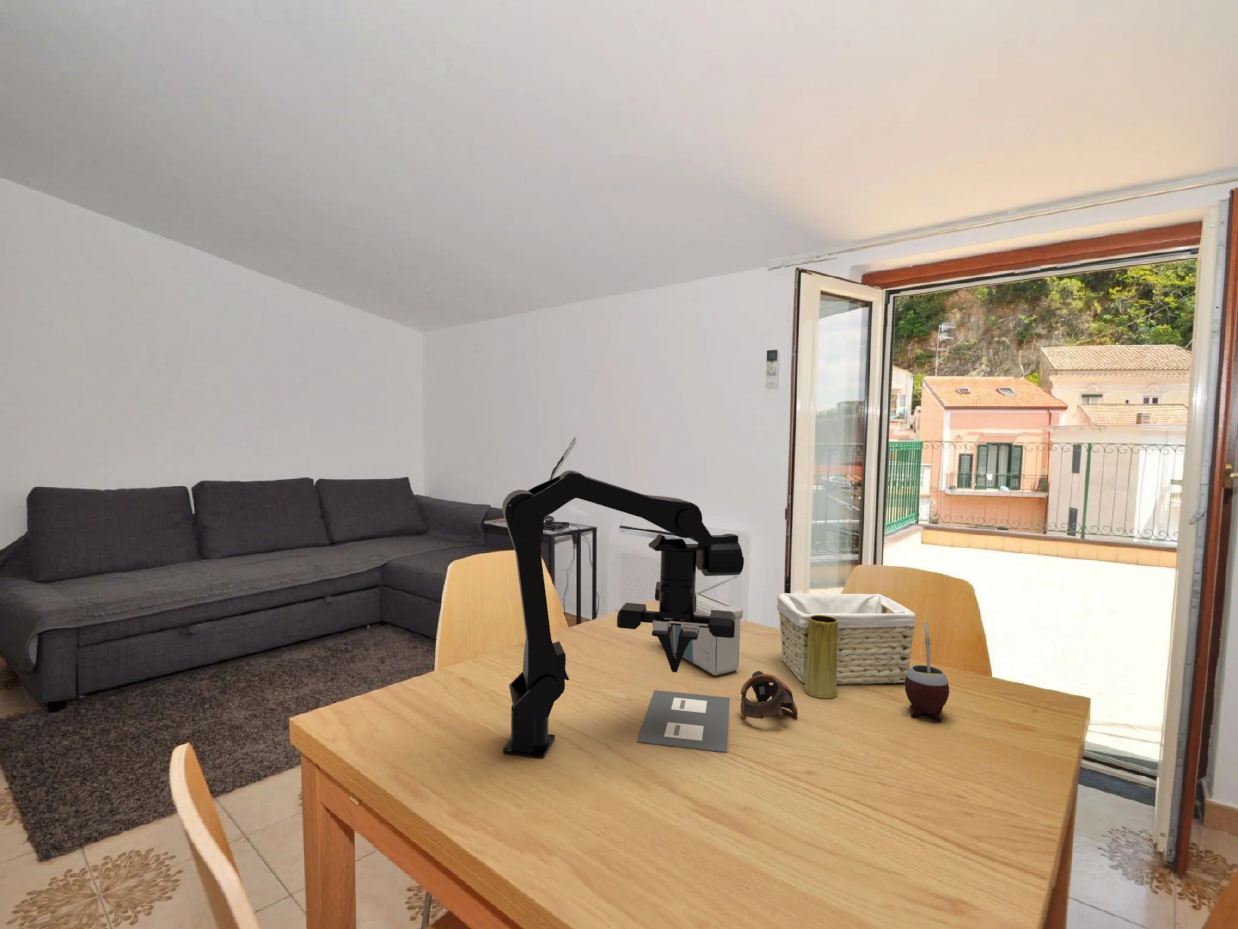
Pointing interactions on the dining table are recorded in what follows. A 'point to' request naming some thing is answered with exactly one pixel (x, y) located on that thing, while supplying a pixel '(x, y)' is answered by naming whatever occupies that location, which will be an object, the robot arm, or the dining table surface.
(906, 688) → the mate gourd
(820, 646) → the vase
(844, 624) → the storage basket
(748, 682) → the brown curved piece
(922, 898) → the dining table surface
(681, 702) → the label mat
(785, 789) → the dining table surface
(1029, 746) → the dining table surface
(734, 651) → the stereo radio cassette player
